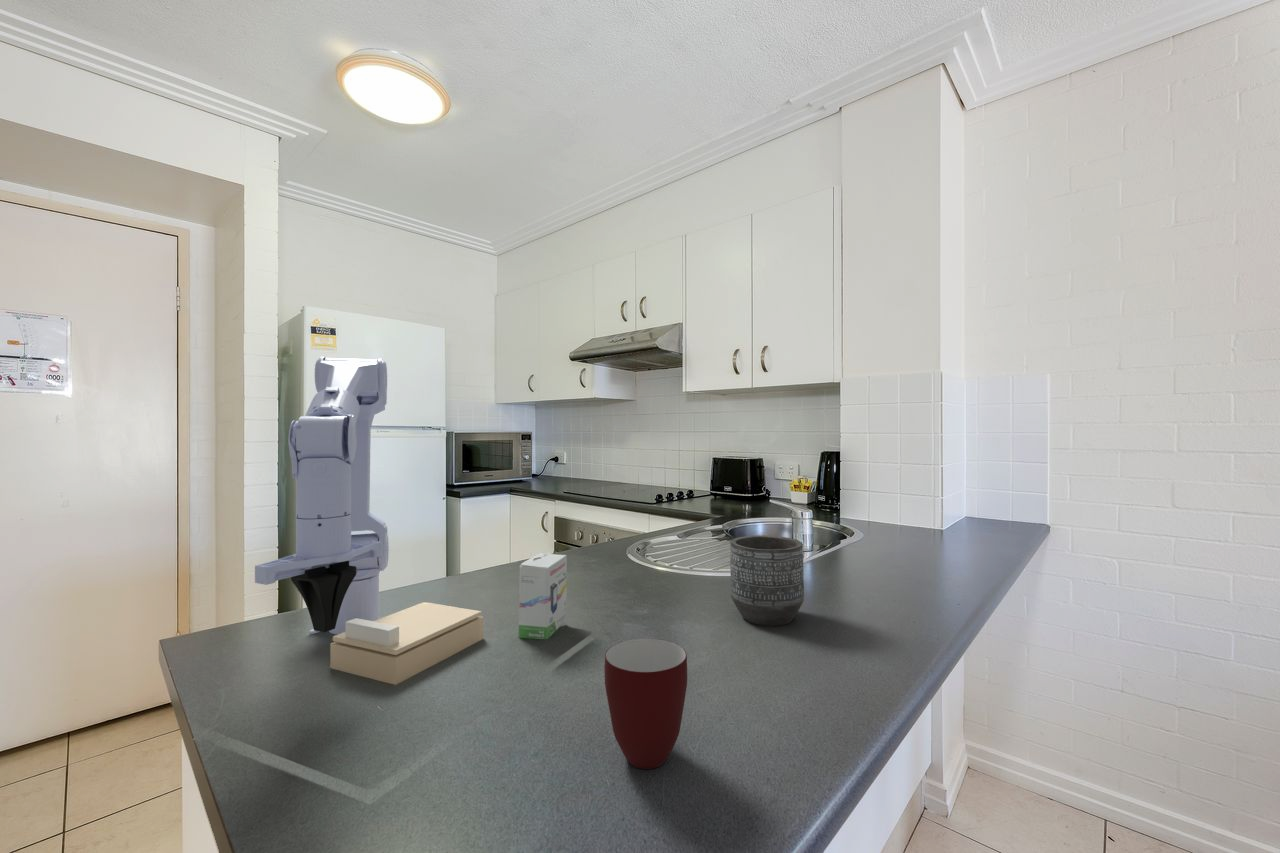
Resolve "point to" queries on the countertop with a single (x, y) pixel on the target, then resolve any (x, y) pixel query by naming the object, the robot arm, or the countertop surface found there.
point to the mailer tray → (405, 654)
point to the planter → (767, 578)
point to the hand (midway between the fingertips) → (324, 629)
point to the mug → (646, 698)
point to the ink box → (542, 595)
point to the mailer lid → (404, 627)
